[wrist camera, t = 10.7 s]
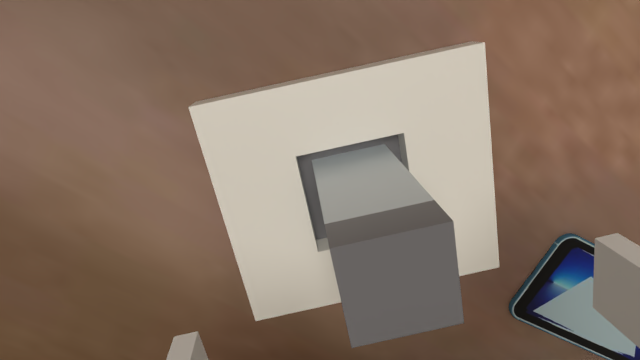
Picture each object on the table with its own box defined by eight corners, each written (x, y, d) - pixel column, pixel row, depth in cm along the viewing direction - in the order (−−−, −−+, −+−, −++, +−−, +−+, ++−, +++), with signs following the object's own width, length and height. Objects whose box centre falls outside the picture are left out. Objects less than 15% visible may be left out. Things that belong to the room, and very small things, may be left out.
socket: (257, 304, 28) (255, 321, 27) (195, 101, 24) (188, 107, 22) (486, 253, 28) (499, 267, 27) (470, 41, 24) (484, 42, 22)
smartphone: (567, 230, 28) (723, 310, 31) (559, 224, 29) (711, 302, 32) (505, 314, 30) (657, 382, 33) (498, 306, 31) (647, 373, 34)
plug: (326, 225, 27) (351, 347, 16) (311, 160, 25) (329, 248, 15) (395, 210, 27) (464, 322, 16) (384, 144, 25) (453, 221, 15)
